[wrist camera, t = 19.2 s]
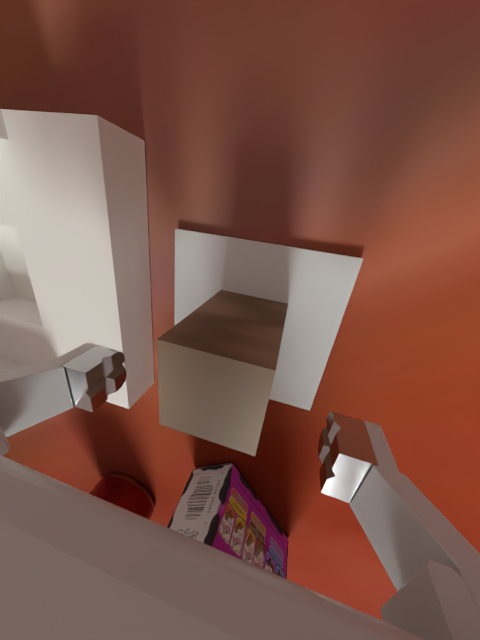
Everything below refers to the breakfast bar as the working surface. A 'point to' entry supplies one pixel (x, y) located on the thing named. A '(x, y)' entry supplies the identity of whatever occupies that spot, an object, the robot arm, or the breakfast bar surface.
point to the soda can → (125, 494)
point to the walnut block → (221, 369)
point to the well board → (74, 243)
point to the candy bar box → (230, 518)
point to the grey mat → (272, 297)
